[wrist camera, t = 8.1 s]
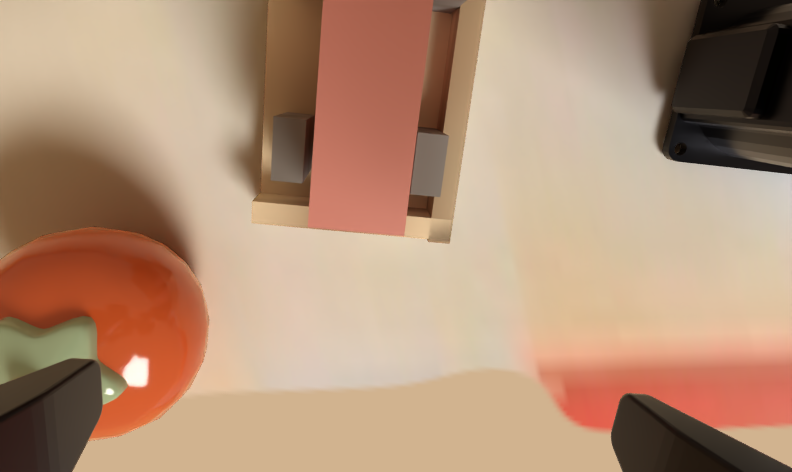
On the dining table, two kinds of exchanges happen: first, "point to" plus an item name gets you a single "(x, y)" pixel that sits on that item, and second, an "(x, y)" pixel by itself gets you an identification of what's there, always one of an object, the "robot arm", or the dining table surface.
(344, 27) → the pink rectangular block
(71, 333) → the tomato
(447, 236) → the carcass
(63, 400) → the robot arm
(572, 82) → the dining table surface
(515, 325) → the dining table surface
